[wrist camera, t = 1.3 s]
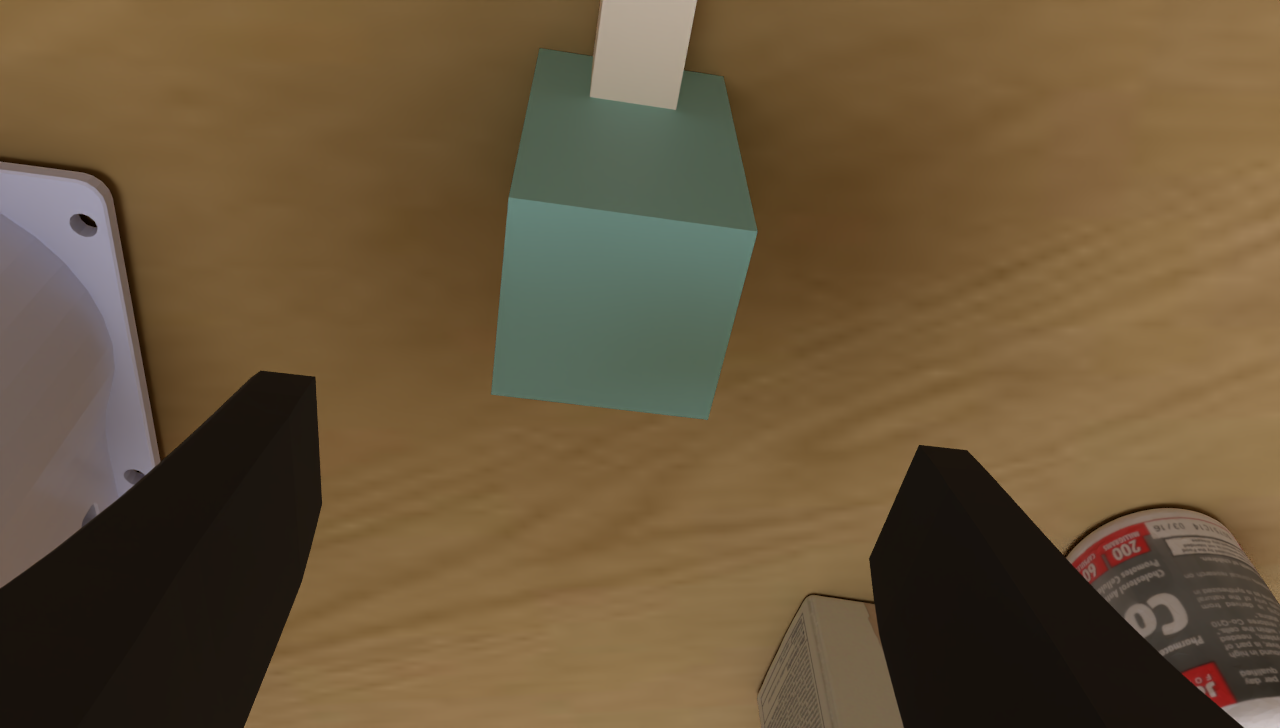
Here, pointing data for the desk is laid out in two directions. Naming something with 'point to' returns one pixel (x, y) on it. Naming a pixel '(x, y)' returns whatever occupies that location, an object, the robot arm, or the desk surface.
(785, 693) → the box
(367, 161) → the desk surface
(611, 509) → the desk surface
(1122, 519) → the pill bottle
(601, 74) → the teal toy mallet
